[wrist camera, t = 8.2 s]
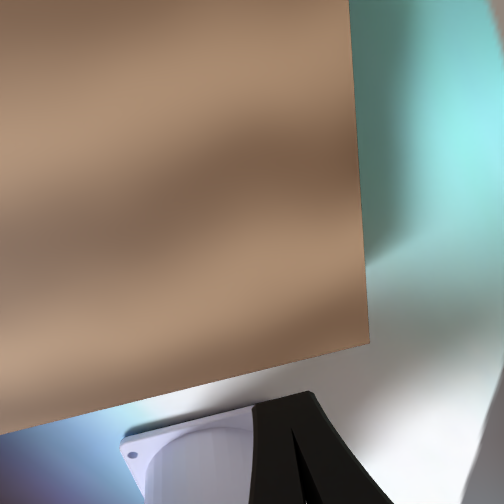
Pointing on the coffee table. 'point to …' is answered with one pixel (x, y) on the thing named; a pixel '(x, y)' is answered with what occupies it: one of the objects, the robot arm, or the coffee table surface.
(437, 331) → the coffee table surface
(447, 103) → the coffee table surface
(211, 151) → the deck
